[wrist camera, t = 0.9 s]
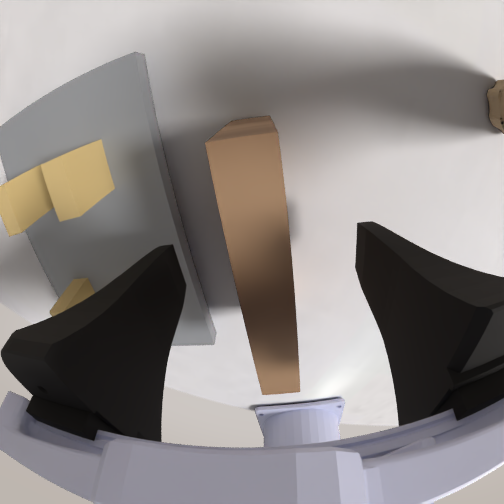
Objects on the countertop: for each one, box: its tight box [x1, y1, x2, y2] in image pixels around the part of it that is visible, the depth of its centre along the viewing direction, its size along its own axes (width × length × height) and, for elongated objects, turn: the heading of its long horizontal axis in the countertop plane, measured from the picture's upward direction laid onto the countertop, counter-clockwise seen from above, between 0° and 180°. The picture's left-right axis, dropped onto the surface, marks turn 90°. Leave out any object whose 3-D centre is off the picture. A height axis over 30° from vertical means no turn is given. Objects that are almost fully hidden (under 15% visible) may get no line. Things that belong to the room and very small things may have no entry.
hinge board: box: [0, 52, 216, 346], centre depth 12 cm, size 16×10×4 cm, turn 8°
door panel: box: [205, 116, 300, 395], centre depth 11 cm, size 10×2×6 cm, turn 8°
